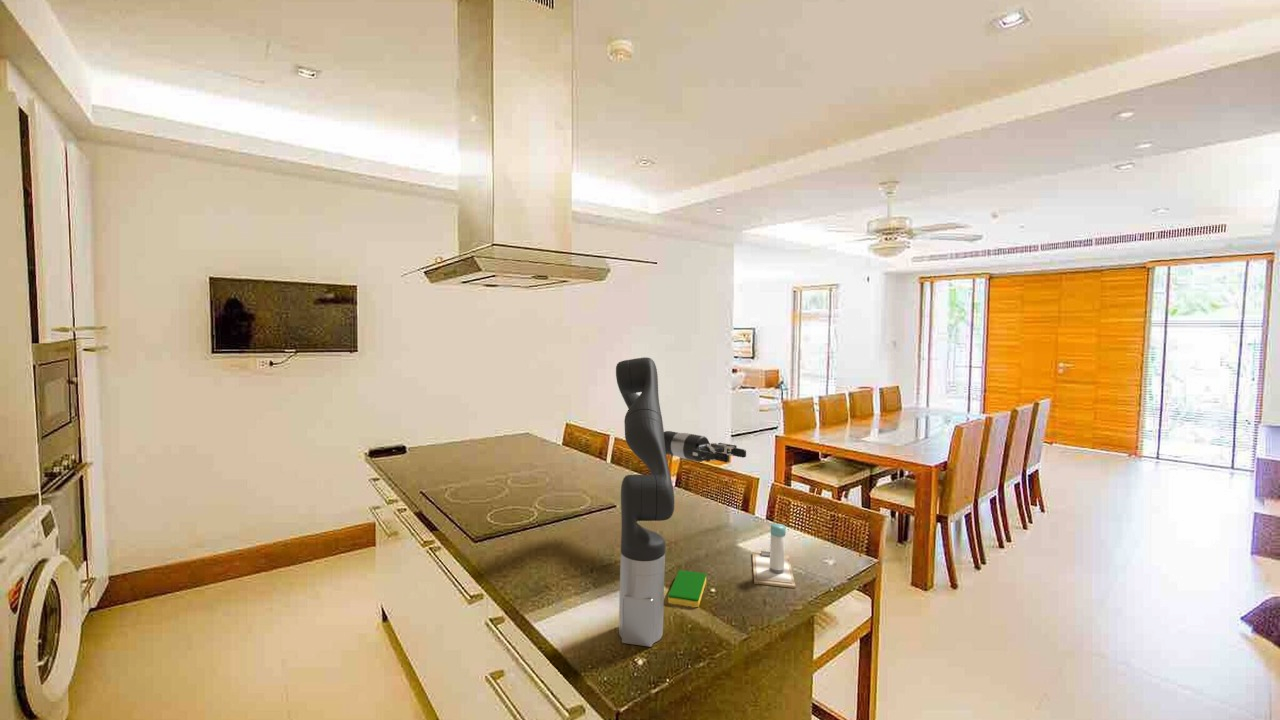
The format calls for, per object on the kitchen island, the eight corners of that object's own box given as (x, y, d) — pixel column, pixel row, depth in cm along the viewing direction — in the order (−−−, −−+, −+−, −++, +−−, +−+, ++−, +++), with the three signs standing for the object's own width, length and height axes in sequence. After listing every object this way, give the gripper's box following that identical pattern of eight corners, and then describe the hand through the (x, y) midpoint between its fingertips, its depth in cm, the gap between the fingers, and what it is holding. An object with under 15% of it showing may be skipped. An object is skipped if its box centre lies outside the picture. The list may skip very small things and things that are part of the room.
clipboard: (795, 588, 130) (795, 583, 130) (754, 583, 132) (754, 578, 132) (788, 557, 148) (788, 553, 148) (752, 554, 150) (752, 549, 150)
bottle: (784, 574, 136) (786, 529, 135) (769, 573, 136) (771, 528, 136) (783, 568, 139) (785, 524, 139) (768, 566, 140) (770, 522, 139)
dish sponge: (706, 582, 133) (706, 573, 133) (698, 609, 120) (698, 599, 120) (678, 578, 135) (679, 569, 135) (667, 605, 122) (667, 594, 121)
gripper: (675, 437, 149) (723, 445, 138) (704, 431, 160) (751, 439, 149) (674, 463, 149) (722, 474, 138) (703, 455, 160) (750, 465, 149)
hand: (737, 456), depth 143 cm, fingers open, 8 cm apart
